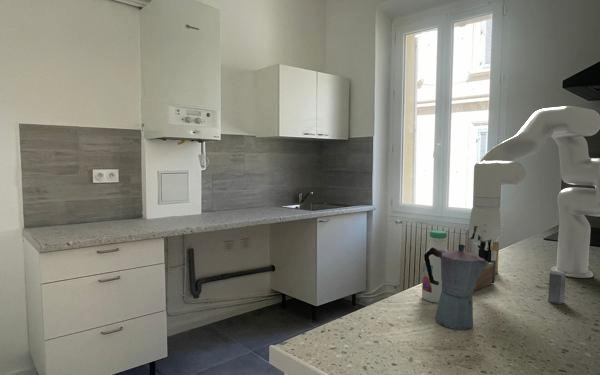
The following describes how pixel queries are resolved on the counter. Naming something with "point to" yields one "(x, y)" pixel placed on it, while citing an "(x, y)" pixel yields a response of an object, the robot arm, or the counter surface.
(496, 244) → the sprinkles bottle
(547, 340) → the counter surface
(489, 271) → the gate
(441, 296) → the moka pot
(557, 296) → the grey rectangular blocks
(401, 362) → the counter surface
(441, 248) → the milk bottle
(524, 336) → the counter surface
